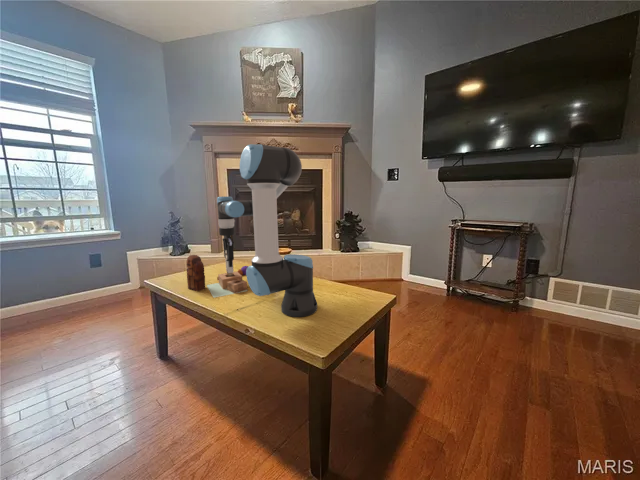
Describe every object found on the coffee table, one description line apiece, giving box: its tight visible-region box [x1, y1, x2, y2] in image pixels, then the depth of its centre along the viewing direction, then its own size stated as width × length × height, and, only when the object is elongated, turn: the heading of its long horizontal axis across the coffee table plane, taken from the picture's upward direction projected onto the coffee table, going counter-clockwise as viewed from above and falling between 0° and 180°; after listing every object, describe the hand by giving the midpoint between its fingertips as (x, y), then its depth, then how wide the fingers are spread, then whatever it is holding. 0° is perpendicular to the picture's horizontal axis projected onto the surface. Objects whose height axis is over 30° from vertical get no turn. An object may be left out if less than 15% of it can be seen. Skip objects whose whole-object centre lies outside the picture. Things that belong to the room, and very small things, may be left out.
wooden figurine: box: [186, 254, 206, 292], centre depth 131 cm, size 12×6×18 cm, turn 56°
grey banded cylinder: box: [225, 250, 233, 277], centre depth 135 cm, size 3×3×16 cm
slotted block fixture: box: [206, 271, 248, 299], centre depth 131 cm, size 20×16×6 cm
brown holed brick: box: [227, 279, 248, 294], centre depth 129 cm, size 7×7×4 cm
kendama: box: [217, 265, 249, 281], centre depth 150 cm, size 6×6×20 cm
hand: (229, 271), depth 135 cm, fingers closed on grey banded cylinder, 3 cm apart
